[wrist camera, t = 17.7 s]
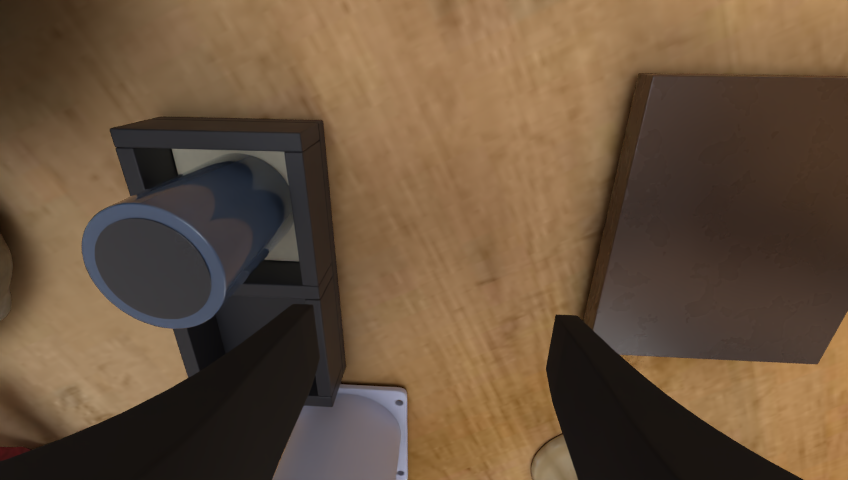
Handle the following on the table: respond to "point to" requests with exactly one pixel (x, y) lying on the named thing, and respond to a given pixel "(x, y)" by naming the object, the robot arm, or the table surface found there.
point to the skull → (5, 278)
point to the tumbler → (188, 240)
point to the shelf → (727, 220)
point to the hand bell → (553, 462)
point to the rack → (287, 263)
